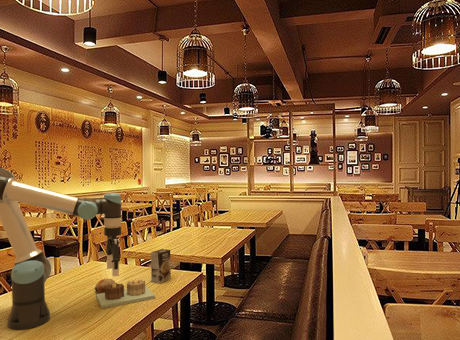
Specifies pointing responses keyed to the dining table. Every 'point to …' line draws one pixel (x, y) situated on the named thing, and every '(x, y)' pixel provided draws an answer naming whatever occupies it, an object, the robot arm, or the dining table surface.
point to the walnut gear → (114, 291)
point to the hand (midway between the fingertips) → (112, 272)
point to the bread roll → (103, 285)
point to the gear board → (124, 298)
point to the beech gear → (136, 288)
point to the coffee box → (160, 266)
